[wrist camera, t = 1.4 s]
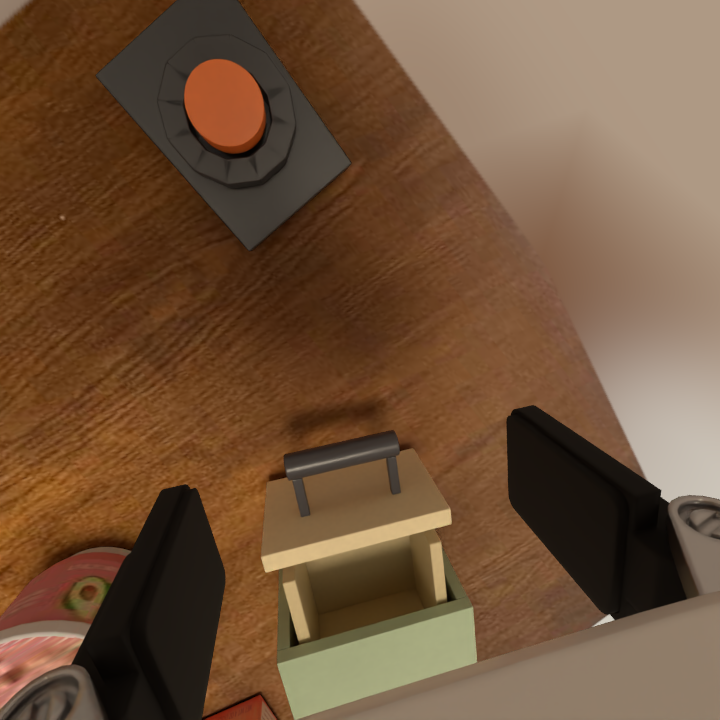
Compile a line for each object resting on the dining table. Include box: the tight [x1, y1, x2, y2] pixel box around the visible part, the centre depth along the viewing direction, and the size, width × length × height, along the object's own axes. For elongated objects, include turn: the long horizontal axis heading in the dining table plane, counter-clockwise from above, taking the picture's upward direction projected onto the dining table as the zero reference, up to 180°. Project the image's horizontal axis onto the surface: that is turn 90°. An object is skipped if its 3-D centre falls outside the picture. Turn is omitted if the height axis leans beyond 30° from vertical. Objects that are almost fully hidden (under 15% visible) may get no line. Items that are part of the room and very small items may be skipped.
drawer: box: [261, 430, 452, 645], centre depth 28 cm, size 18×11×7 cm, turn 8°
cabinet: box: [277, 547, 477, 720], centre depth 31 cm, size 15×13×9 cm
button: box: [184, 59, 266, 154], centre depth 19 cm, size 4×4×2 cm
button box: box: [96, 0, 351, 251], centre depth 21 cm, size 11×8×4 cm
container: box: [0, 547, 131, 709], centre depth 26 cm, size 10×10×8 cm
